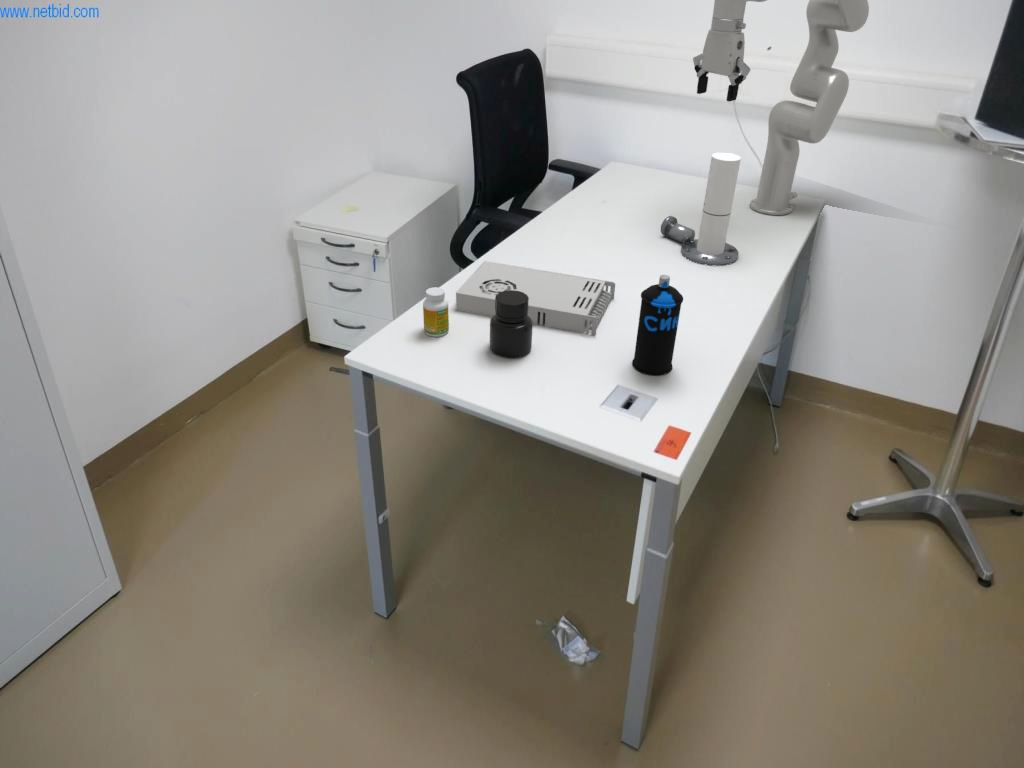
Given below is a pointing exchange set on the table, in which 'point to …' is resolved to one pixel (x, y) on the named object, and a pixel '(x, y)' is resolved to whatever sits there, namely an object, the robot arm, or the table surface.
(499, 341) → the ink bottle
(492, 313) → the power supply unit
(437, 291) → the supplement bottle
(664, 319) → the aerosol can
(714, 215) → the cylindrical container
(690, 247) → the flange fitting
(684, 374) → the table surface
